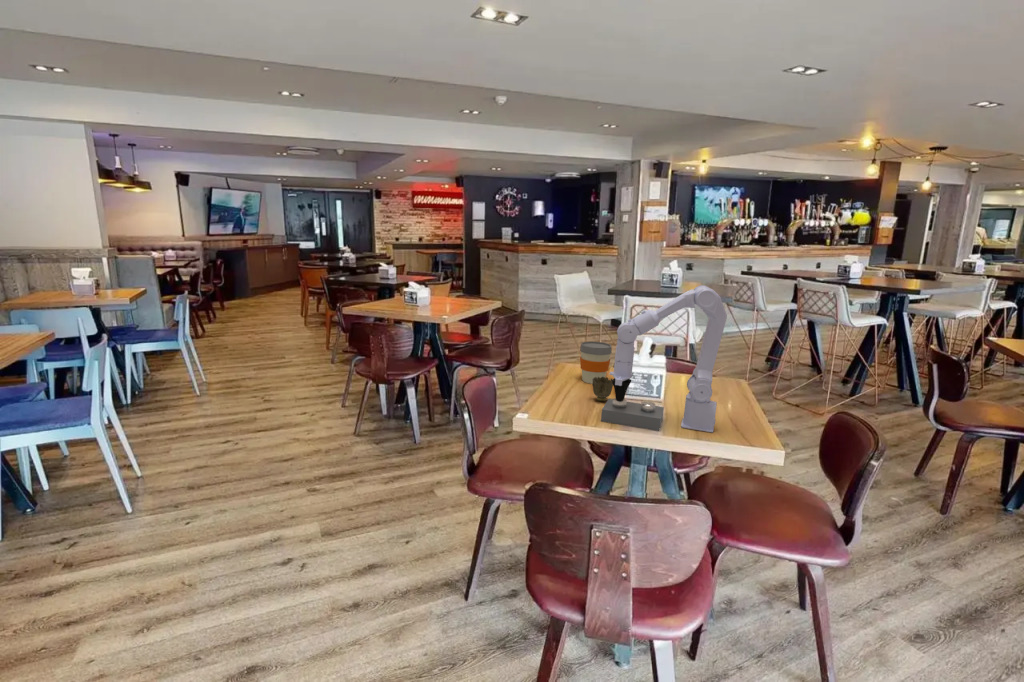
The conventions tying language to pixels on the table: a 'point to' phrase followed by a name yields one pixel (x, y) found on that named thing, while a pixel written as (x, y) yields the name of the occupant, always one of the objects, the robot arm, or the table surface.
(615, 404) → the knob outer
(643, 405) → the knob near
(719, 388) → the table surface
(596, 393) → the cup
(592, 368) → the reusable coffee cup
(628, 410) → the knob mount
